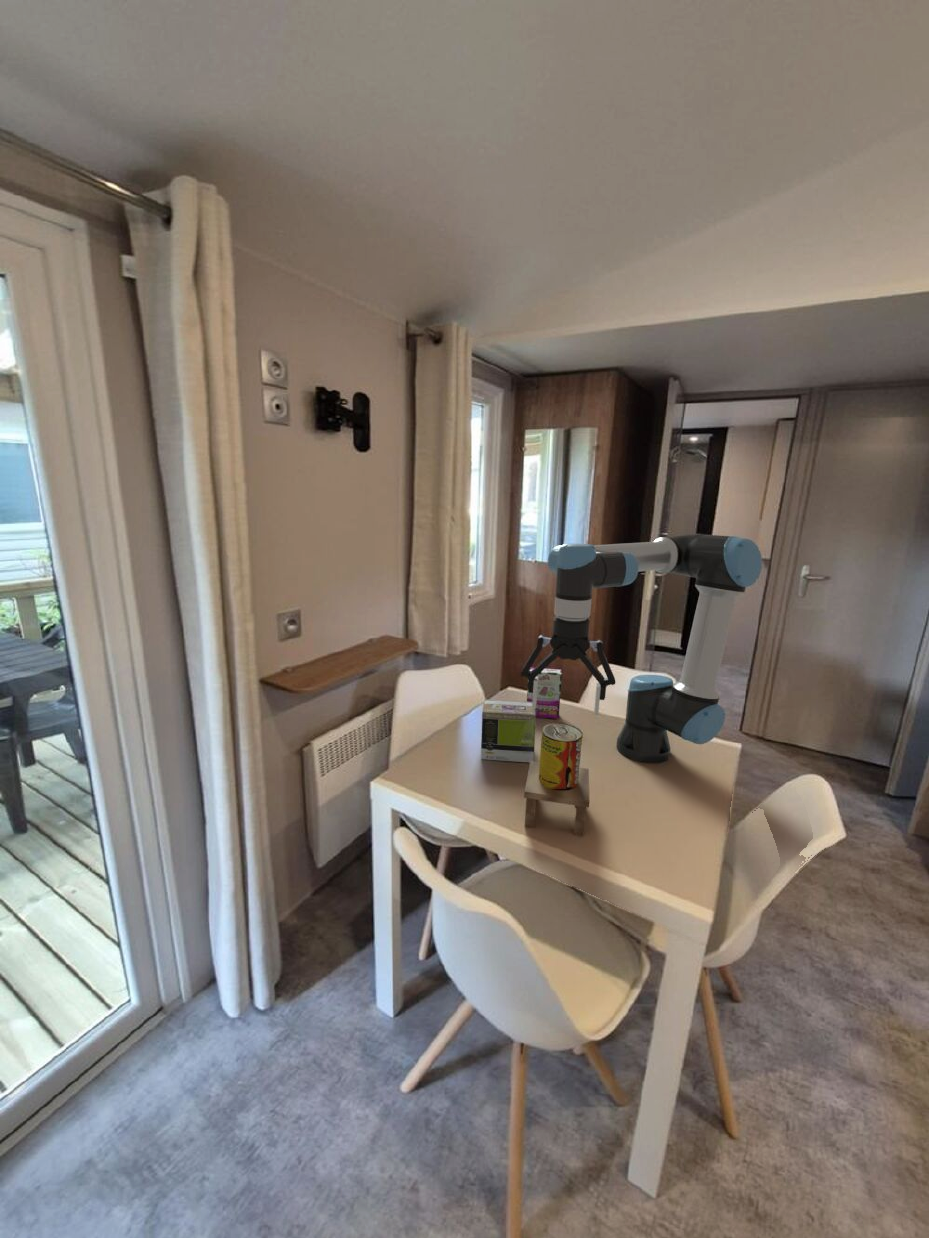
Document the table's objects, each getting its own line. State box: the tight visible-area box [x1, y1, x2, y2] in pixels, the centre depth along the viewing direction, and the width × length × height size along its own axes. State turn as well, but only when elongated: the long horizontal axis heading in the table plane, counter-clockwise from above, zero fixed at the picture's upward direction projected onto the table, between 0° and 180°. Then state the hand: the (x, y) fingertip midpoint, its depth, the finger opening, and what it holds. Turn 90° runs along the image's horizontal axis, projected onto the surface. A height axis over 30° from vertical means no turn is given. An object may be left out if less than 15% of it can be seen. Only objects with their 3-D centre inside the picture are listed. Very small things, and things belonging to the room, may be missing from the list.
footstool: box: [523, 761, 590, 837], centre depth 119 cm, size 14×14×9 cm
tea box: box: [480, 699, 537, 764], centre depth 146 cm, size 15×10×15 cm, turn 84°
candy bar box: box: [526, 666, 563, 720], centre depth 172 cm, size 11×5×16 cm, turn 80°
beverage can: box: [539, 722, 583, 791], centre depth 116 cm, size 9×9×12 cm
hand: (564, 709), depth 114 cm, fingers open, 13 cm apart
